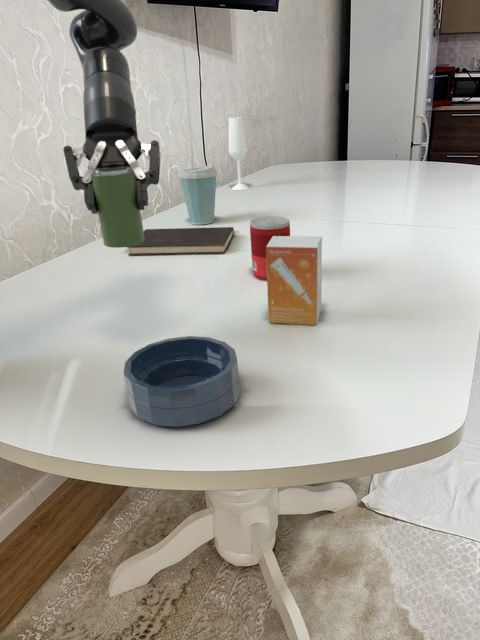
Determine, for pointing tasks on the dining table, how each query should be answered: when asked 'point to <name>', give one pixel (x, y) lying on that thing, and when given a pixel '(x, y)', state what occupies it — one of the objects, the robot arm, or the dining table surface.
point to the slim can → (118, 206)
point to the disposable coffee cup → (199, 193)
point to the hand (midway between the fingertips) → (117, 208)
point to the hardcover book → (184, 241)
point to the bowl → (182, 380)
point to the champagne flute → (237, 146)
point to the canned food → (265, 240)
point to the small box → (294, 279)
